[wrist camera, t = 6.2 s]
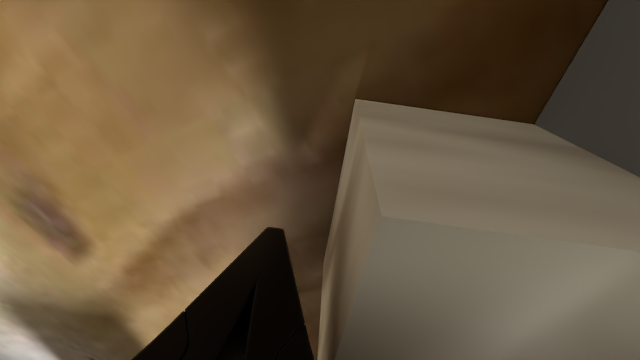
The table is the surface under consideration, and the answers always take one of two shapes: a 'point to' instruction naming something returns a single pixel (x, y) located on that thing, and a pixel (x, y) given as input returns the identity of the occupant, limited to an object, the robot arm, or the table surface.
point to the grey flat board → (602, 90)
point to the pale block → (477, 244)
